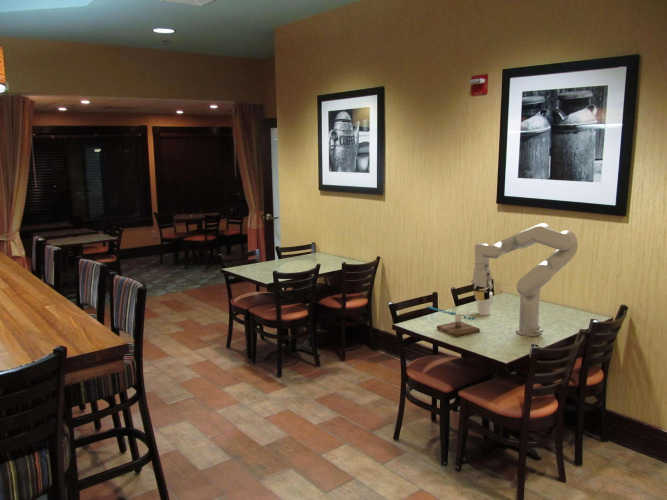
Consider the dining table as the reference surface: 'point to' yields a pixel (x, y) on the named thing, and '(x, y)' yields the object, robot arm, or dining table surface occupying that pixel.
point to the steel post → (457, 320)
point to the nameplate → (447, 312)
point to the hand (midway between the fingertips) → (481, 297)
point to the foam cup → (484, 305)
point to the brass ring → (480, 295)
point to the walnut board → (458, 329)
